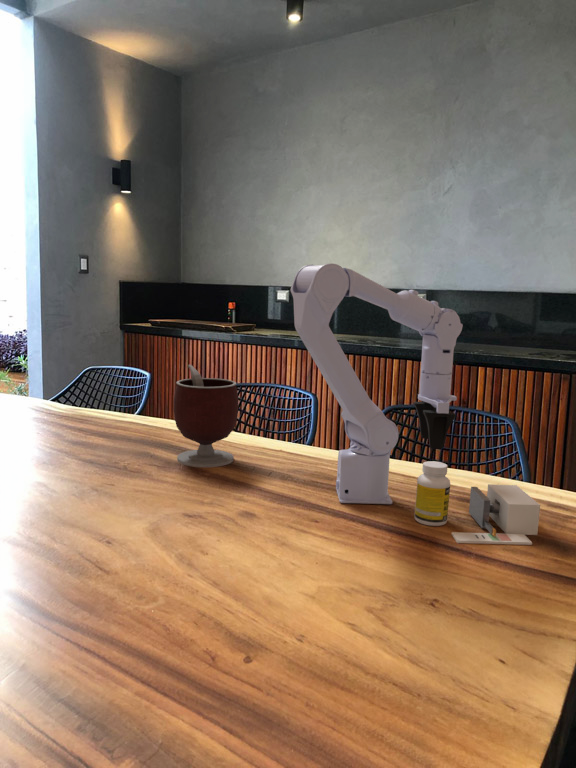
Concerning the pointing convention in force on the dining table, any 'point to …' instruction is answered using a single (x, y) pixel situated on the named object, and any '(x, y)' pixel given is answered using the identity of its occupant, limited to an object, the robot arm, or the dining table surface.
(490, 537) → the gauge
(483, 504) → the plunger
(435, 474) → the supplement bottle
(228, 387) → the mate gourd
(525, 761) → the dining table surface
